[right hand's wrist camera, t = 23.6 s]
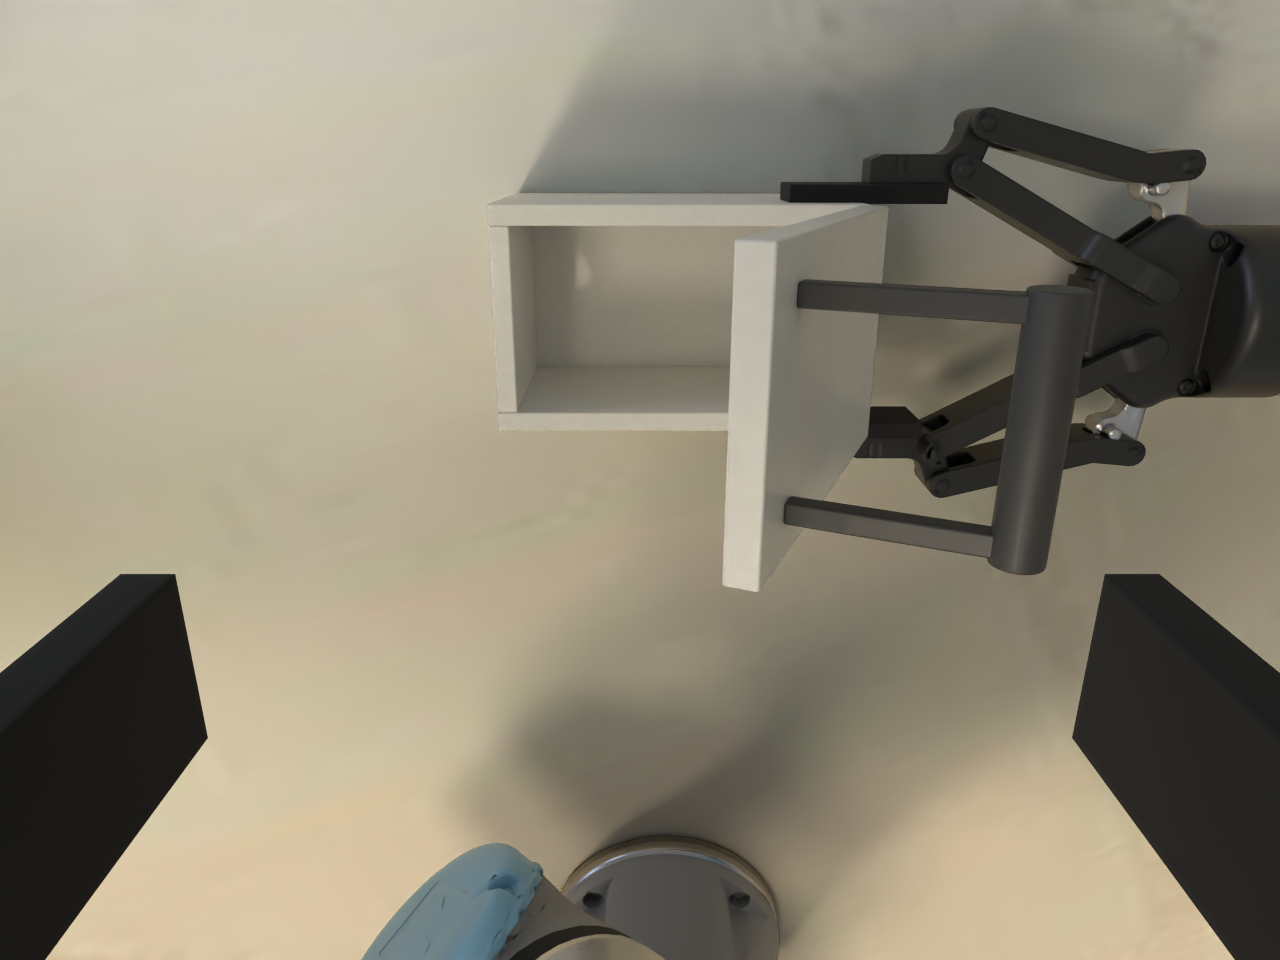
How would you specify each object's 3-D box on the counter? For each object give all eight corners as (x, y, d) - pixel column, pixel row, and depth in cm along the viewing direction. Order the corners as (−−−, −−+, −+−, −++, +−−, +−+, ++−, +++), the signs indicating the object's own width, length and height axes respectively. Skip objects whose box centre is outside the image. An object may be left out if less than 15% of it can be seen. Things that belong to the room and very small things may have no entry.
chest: (524, 378, 48) (499, 431, 39) (516, 193, 45) (486, 204, 36) (810, 378, 48) (851, 431, 39) (823, 193, 45) (871, 204, 36)
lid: (721, 586, 25) (1036, 648, 22) (733, 238, 22) (1106, 254, 19) (841, 434, 39) (1048, 459, 36) (860, 205, 35) (1089, 210, 32)
